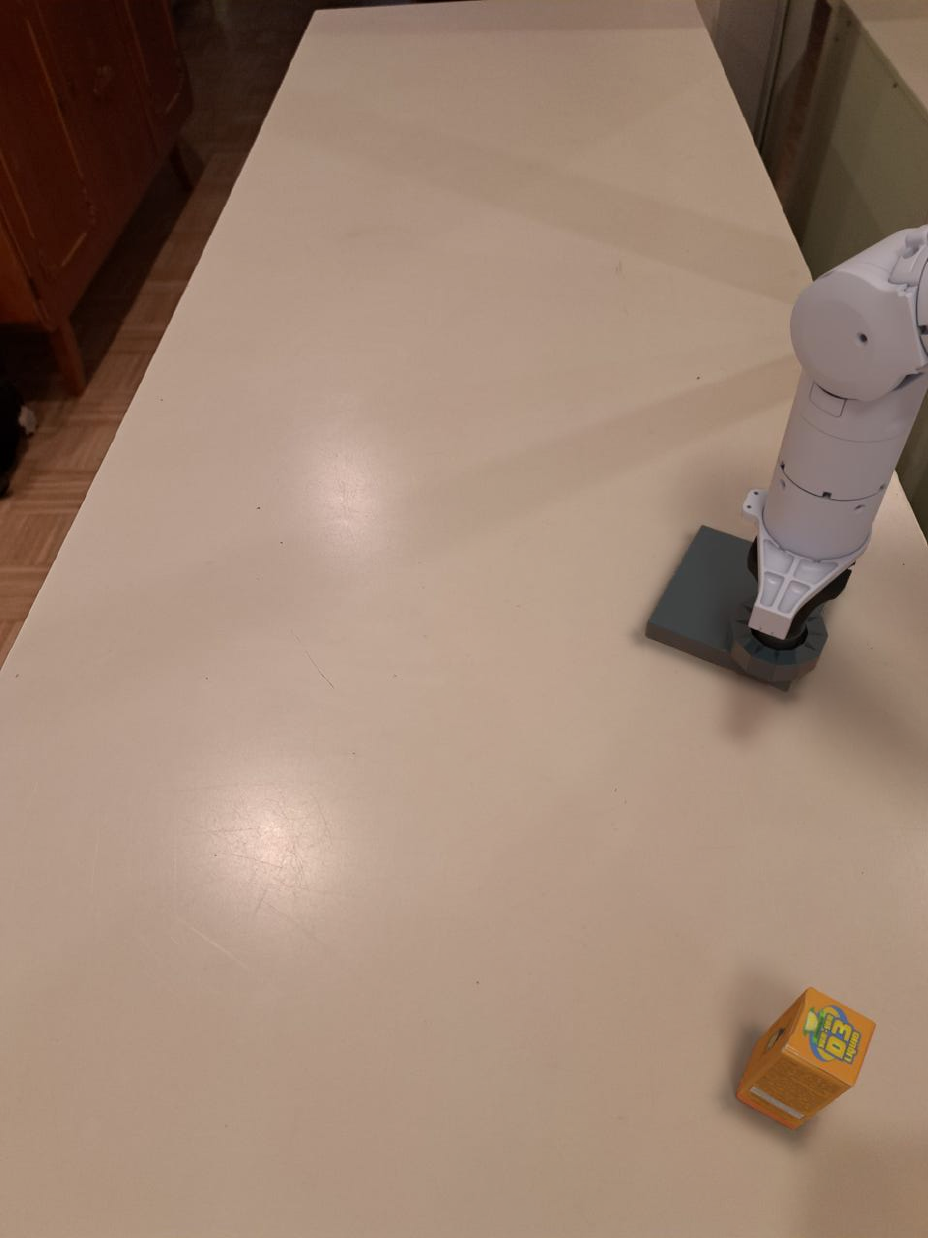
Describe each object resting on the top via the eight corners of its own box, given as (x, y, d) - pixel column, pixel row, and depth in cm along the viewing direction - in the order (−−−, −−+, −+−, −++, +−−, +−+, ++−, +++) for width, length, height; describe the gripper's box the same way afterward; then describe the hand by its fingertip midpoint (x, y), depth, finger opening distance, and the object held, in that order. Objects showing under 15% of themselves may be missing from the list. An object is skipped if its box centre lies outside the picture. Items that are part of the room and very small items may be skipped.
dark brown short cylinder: (805, 628, 62) (812, 612, 61) (791, 662, 61) (797, 646, 59) (761, 612, 63) (766, 595, 62) (745, 644, 62) (750, 628, 60)
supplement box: (799, 1138, 47) (854, 1094, 39) (733, 1098, 48) (772, 1047, 40) (823, 1075, 48) (879, 1020, 40) (757, 1037, 50) (800, 978, 42)
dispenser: (846, 591, 67) (860, 558, 64) (797, 709, 61) (810, 679, 59) (698, 539, 71) (705, 506, 68) (639, 646, 65) (644, 615, 62)
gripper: (802, 362, 55) (758, 524, 66) (711, 528, 47) (678, 680, 58) (929, 396, 52) (862, 559, 63) (854, 577, 45) (792, 726, 56)
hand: (781, 620), depth 61 cm, fingers closed, pressing on dark brown short cylinder
